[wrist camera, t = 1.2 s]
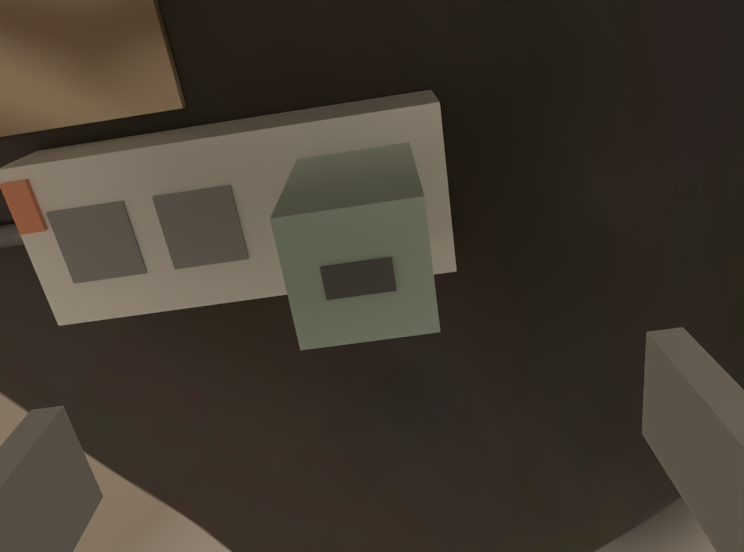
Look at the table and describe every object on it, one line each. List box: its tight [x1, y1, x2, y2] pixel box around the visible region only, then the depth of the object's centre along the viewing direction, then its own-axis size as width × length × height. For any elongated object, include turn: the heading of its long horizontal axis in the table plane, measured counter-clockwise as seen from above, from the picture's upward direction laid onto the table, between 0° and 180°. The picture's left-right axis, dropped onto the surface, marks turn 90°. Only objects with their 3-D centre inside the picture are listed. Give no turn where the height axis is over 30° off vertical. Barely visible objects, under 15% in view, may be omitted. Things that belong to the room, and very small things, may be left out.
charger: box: [270, 142, 440, 350], centre depth 25 cm, size 5×5×10 cm
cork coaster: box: [0, 0, 186, 137], centre depth 27 cm, size 10×10×1 cm
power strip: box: [0, 90, 456, 326], centre depth 30 cm, size 26×8×4 cm, turn 98°
